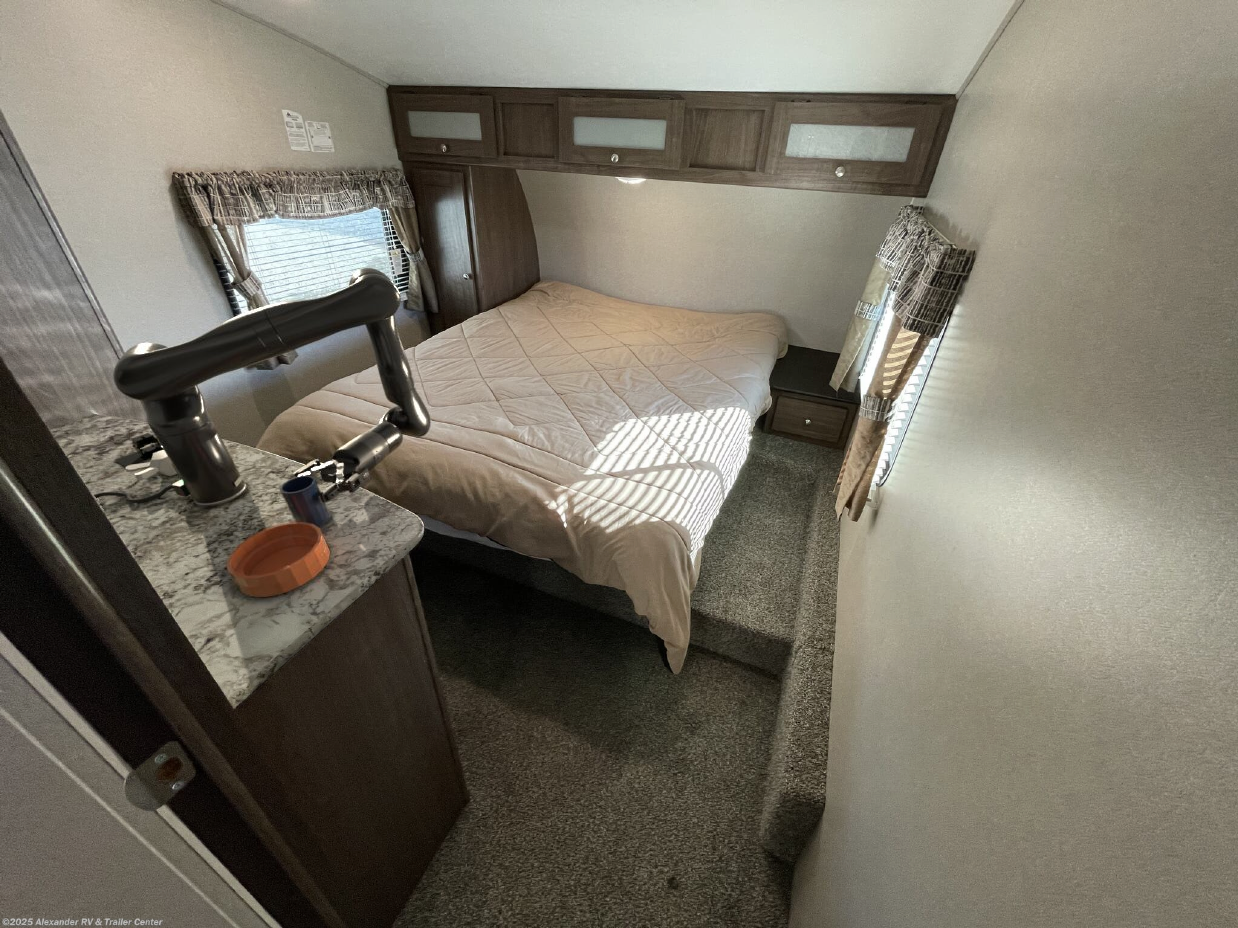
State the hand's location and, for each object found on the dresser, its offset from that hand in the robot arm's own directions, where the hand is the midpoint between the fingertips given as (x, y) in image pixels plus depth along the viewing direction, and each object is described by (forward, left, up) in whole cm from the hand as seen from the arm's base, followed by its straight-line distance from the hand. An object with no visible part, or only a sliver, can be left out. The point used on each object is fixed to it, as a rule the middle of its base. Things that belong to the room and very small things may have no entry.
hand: (304, 495), depth 96 cm
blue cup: (0, 0, -6) cm, 6 cm away
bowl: (+6, -13, -6) cm, 15 cm away
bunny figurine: (-47, +7, -6) cm, 48 cm away
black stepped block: (-62, +11, -6) cm, 63 cm away
